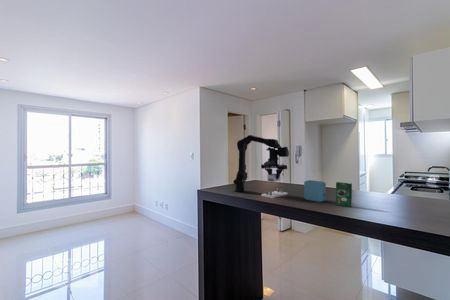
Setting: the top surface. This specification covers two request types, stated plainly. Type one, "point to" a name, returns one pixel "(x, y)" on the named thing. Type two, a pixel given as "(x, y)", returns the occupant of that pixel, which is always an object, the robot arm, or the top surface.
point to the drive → (273, 178)
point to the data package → (315, 190)
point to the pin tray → (274, 194)
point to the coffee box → (344, 194)
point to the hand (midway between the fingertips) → (274, 179)
